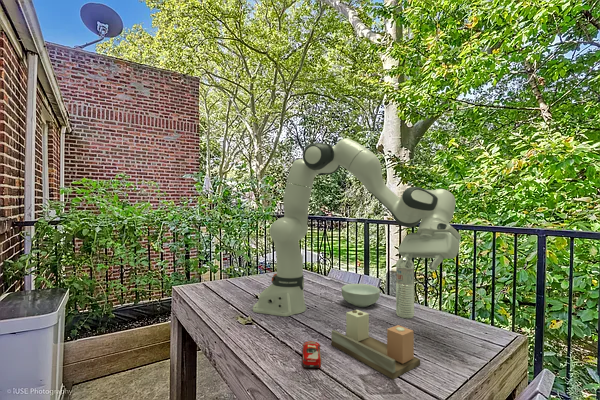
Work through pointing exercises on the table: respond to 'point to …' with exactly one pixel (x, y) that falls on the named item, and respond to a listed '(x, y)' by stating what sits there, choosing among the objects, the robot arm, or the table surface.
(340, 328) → the table surface
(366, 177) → the robot arm
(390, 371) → the board
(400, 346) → the terracotta key
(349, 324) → the cream rectangular block
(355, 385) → the table surface
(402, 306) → the water bottle
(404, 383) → the table surface
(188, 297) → the table surface
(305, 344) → the race car
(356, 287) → the cereal bowl
